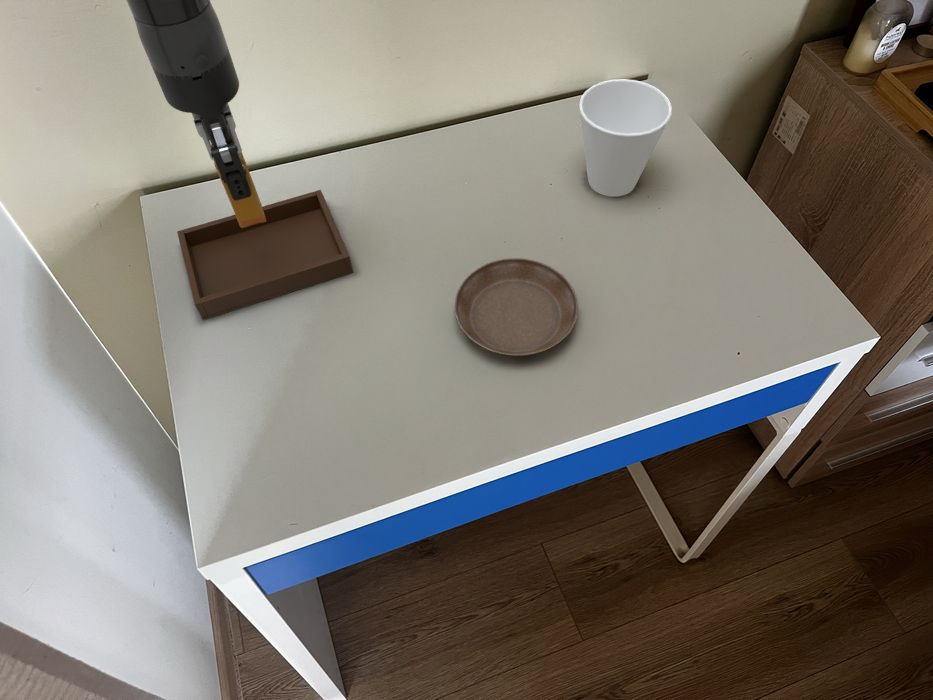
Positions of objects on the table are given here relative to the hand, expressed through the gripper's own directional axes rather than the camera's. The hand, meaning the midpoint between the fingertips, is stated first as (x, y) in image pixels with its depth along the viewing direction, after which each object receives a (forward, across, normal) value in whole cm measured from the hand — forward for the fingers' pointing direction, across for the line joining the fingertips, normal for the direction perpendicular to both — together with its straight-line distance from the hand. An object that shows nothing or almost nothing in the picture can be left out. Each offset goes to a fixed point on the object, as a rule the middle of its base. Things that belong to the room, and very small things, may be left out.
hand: (238, 185), depth 83 cm
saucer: (+13, +22, +26) cm, 36 cm away
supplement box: (+5, 0, 0) cm, 5 cm away
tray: (+13, 0, 0) cm, 13 cm away
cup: (+13, +5, +49) cm, 51 cm away
